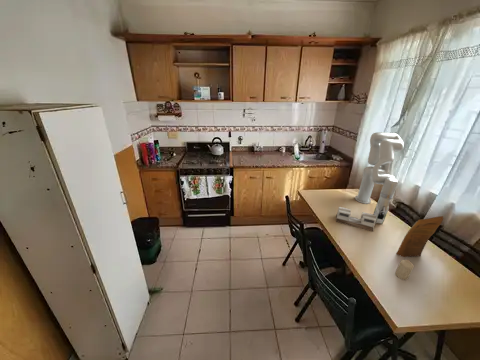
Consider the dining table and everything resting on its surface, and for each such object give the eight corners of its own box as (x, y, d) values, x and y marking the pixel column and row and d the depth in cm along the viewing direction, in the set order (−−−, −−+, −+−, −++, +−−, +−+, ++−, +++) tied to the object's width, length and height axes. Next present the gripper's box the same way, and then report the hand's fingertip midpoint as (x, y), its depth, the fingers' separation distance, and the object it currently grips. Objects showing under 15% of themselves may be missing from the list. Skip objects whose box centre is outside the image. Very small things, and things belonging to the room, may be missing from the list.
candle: (395, 269, 115) (402, 256, 111) (408, 275, 112) (415, 261, 108) (394, 276, 111) (401, 262, 107) (407, 282, 108) (414, 267, 104)
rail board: (336, 215, 163) (339, 205, 160) (371, 223, 154) (375, 213, 151) (336, 221, 155) (338, 212, 152) (373, 231, 146) (376, 221, 142)
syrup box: (379, 219, 159) (385, 203, 153) (383, 224, 154) (389, 207, 148) (371, 218, 160) (376, 202, 154) (375, 223, 154) (381, 206, 148)
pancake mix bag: (429, 258, 124) (450, 218, 112) (399, 259, 122) (417, 220, 110) (419, 250, 130) (438, 212, 118) (391, 251, 128) (407, 212, 117)
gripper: (378, 189, 156) (372, 209, 163) (382, 199, 142) (374, 220, 149) (390, 191, 153) (383, 211, 161) (395, 201, 139) (386, 223, 146)
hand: (379, 215), depth 155 cm, fingers open, 8 cm apart
